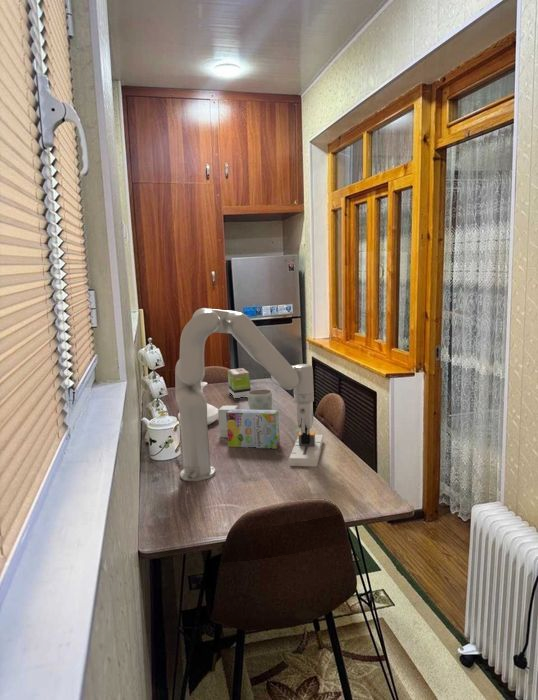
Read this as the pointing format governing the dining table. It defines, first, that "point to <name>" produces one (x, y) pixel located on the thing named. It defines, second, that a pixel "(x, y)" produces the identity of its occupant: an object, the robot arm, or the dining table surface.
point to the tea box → (239, 382)
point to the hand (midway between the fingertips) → (305, 443)
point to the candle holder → (208, 409)
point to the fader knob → (312, 439)
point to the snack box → (253, 428)
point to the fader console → (306, 453)
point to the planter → (260, 399)
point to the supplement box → (224, 419)
